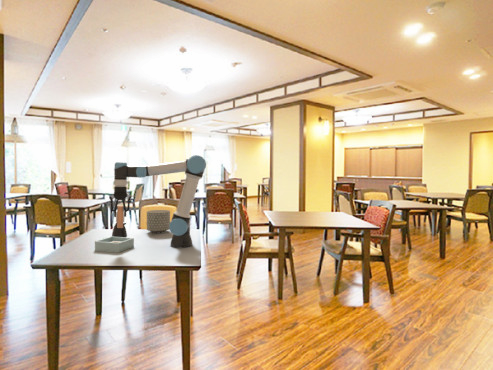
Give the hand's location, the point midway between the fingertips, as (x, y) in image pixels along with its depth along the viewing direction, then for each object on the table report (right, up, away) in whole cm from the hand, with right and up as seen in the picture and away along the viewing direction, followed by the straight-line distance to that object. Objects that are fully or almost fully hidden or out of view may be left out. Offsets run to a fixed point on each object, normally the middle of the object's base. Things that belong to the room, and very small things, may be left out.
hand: (120, 221), depth 199 cm
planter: (+8, -17, +60) cm, 63 cm away
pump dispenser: (-11, -18, +24) cm, 32 cm away
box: (-6, -19, +6) cm, 20 cm away
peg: (0, -4, 0) cm, 4 cm away
